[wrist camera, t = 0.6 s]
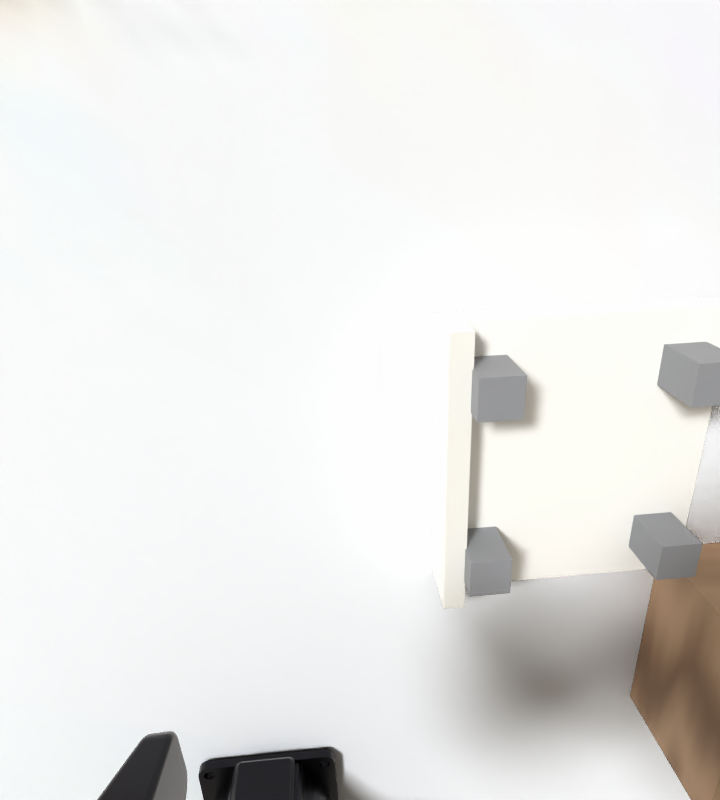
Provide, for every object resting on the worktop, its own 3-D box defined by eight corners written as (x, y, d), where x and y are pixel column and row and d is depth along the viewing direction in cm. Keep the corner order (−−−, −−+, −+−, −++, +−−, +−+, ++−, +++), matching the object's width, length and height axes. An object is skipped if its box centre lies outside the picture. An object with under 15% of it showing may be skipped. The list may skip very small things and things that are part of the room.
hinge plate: (660, 548, 25) (707, 601, 22) (431, 567, 24) (448, 624, 21) (712, 296, 20) (779, 320, 18) (434, 313, 20) (455, 340, 17)
